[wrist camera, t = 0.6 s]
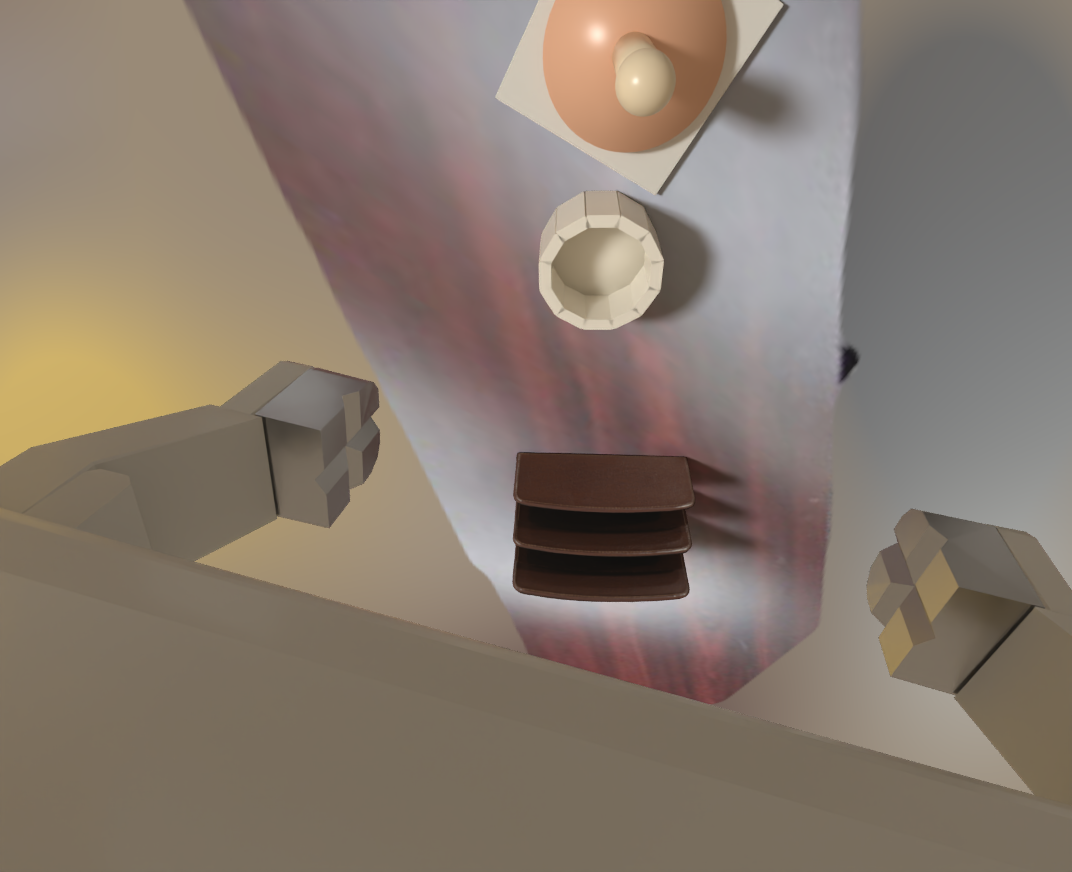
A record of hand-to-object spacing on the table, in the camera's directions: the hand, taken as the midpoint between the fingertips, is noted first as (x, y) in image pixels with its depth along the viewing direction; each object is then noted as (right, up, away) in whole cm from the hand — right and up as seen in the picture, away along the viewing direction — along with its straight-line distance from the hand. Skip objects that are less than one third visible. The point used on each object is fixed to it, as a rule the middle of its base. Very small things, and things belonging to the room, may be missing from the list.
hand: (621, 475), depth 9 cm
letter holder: (+6, -5, +65) cm, 66 cm away
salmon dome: (+6, +29, +35) cm, 46 cm away
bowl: (+4, +18, +45) cm, 49 cm away
